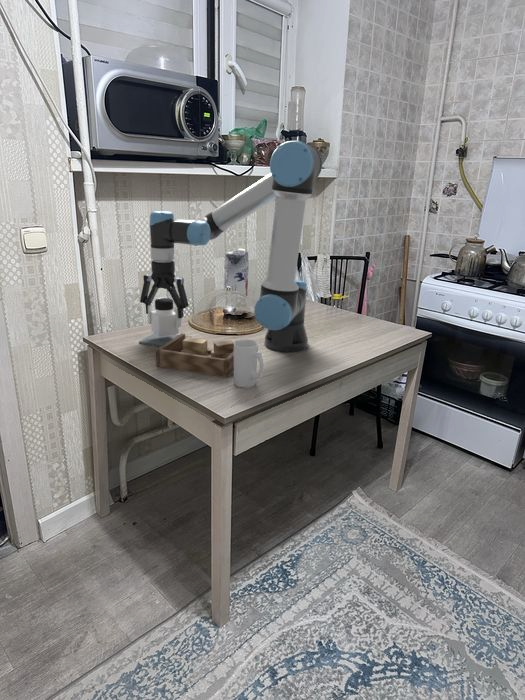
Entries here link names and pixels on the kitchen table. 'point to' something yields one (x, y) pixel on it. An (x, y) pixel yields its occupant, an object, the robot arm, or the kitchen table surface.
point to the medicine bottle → (163, 318)
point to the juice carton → (236, 271)
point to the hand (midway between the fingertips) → (164, 325)
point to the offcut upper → (223, 347)
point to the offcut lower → (219, 355)
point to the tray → (192, 359)
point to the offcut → (195, 346)
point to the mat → (158, 339)
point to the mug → (246, 363)
